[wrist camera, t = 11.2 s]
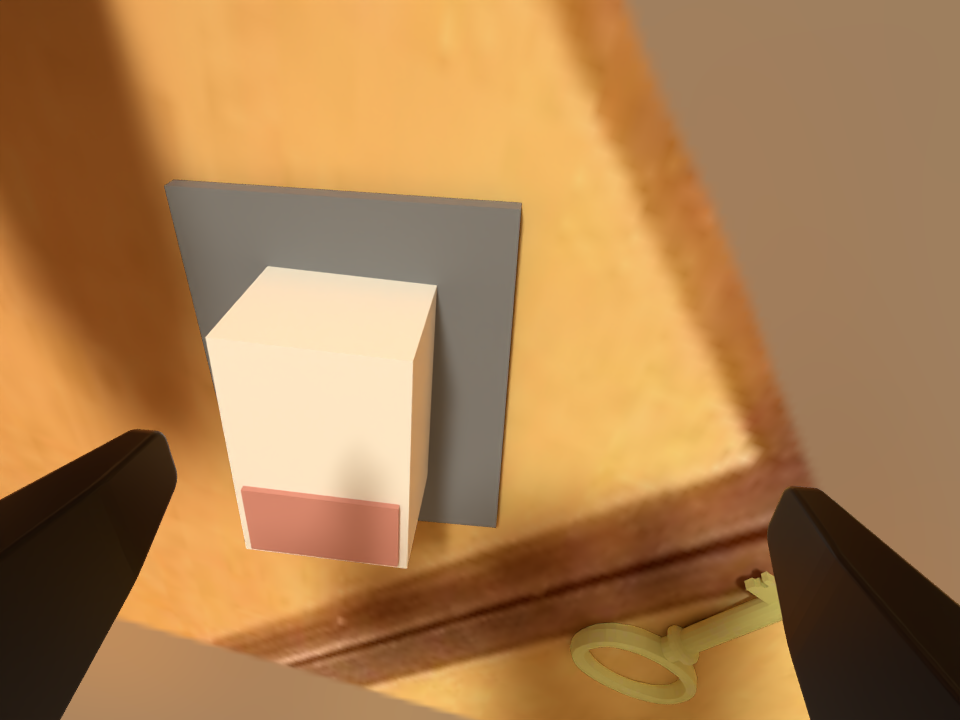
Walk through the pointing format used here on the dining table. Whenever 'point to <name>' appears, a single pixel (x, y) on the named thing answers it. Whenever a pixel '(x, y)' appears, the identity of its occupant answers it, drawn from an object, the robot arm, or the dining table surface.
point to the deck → (327, 412)
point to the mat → (391, 256)
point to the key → (675, 644)
